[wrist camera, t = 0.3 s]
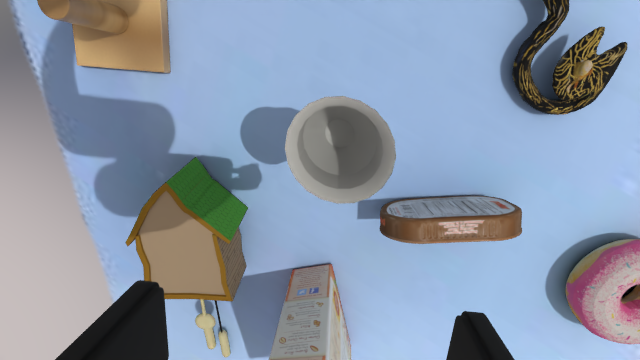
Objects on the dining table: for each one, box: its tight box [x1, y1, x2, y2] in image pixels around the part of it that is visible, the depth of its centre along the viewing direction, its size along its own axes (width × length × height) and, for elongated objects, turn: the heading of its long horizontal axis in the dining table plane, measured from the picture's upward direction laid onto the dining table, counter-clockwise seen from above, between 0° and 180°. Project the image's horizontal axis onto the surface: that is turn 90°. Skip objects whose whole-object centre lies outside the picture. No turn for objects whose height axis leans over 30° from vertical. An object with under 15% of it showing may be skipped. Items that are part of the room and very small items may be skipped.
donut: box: [565, 239, 640, 344], centre depth 39 cm, size 14×13×5 cm
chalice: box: [285, 96, 396, 203], centre depth 29 cm, size 7×7×18 cm
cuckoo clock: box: [126, 157, 248, 357], centre depth 42 cm, size 12×8×30 cm
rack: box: [37, 0, 170, 73], centre depth 32 cm, size 10×10×10 cm
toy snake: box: [512, 0, 627, 115], centre depth 32 cm, size 18×5×10 cm
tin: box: [380, 196, 522, 244], centre depth 36 cm, size 15×3×8 cm, turn 94°
